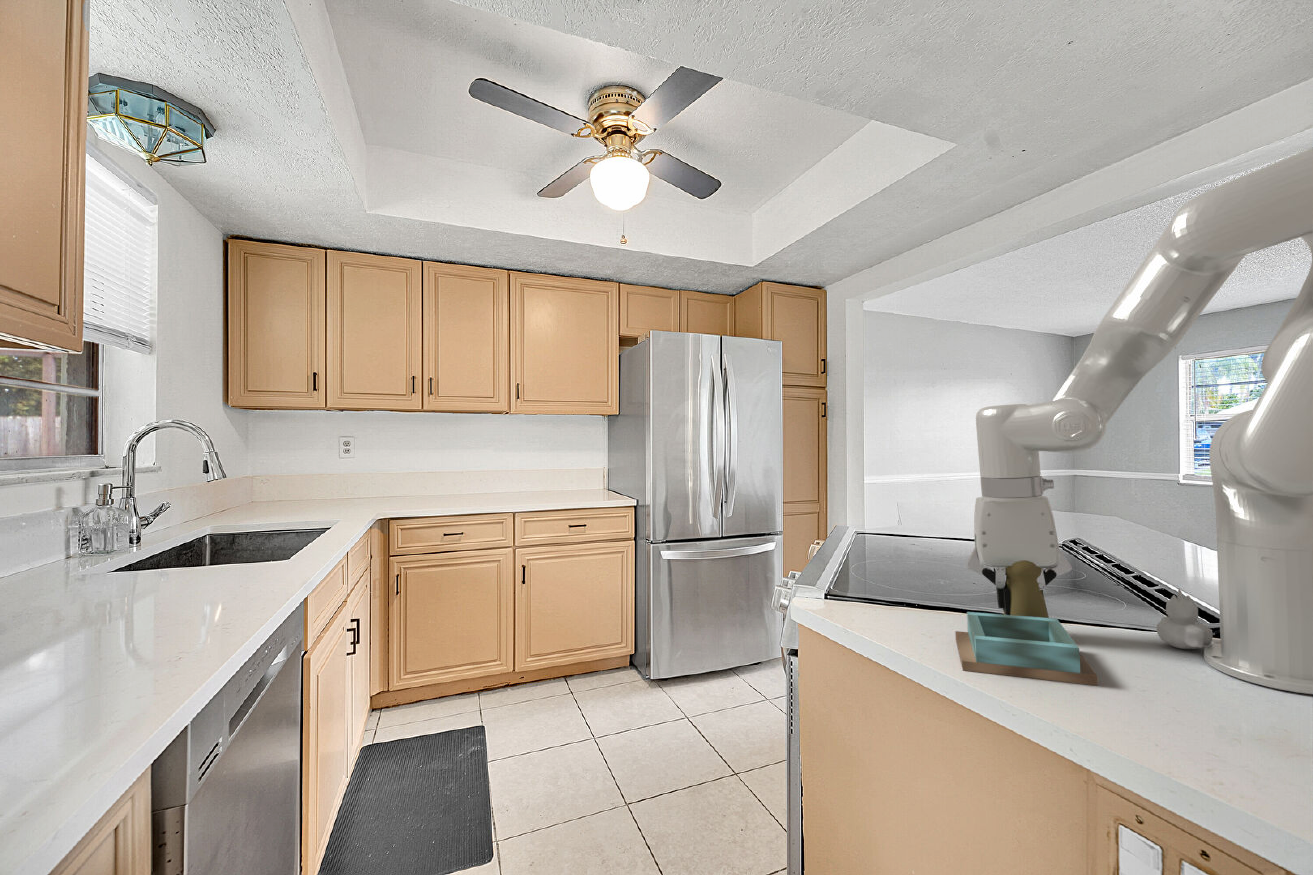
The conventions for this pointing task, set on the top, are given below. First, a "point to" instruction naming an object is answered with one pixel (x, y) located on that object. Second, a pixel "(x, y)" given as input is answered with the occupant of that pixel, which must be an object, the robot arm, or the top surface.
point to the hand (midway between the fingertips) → (1020, 612)
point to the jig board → (1022, 648)
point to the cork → (1025, 590)
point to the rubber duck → (1183, 624)
